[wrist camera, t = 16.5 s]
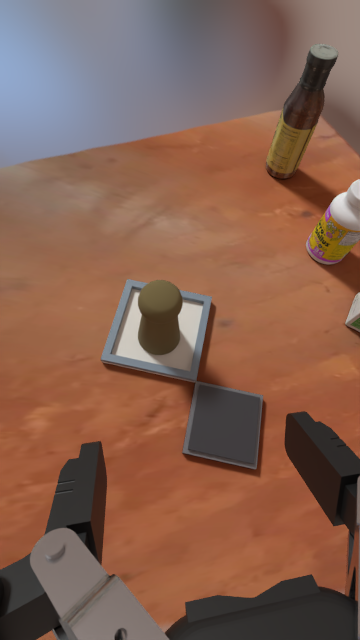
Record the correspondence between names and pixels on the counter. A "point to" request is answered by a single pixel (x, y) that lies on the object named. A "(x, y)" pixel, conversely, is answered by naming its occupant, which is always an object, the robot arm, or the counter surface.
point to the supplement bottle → (337, 228)
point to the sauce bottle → (301, 113)
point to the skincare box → (354, 314)
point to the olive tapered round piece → (159, 317)
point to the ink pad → (224, 425)
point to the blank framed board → (131, 355)
